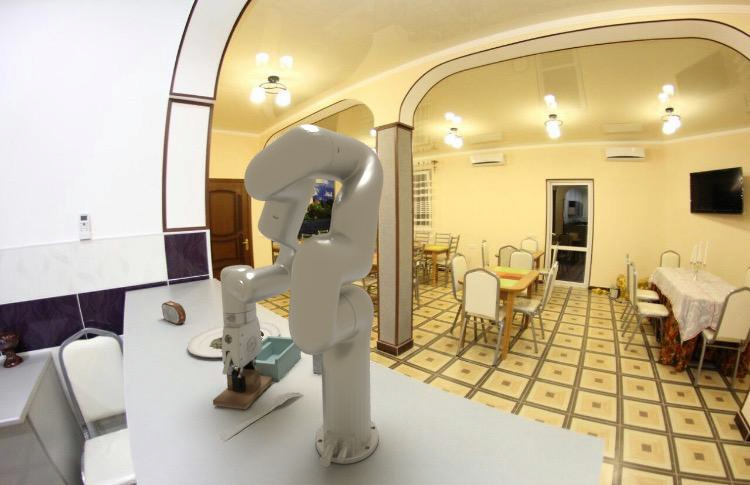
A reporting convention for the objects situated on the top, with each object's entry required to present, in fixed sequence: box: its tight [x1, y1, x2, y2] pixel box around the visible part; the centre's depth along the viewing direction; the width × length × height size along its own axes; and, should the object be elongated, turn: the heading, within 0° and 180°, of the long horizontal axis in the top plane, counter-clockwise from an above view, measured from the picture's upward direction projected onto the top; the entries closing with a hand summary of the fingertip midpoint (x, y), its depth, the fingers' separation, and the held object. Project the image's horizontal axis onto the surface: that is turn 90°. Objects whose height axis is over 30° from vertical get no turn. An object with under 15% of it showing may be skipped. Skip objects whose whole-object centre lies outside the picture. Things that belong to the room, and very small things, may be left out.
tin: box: [161, 300, 187, 325], centre depth 131 cm, size 15×3×8 cm, turn 58°
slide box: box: [255, 336, 302, 383], centre depth 92 cm, size 14×11×6 cm
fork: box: [218, 391, 304, 442], centre depth 72 cm, size 3×21×3 cm, turn 140°
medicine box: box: [311, 354, 322, 374], centre depth 92 cm, size 8×4×9 cm, turn 168°
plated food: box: [187, 321, 281, 358], centre depth 112 cm, size 30×30×3 cm
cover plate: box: [212, 367, 274, 410], centre depth 79 cm, size 12×9×5 cm
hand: (244, 385), depth 79 cm, fingers closed on cover plate, 3 cm apart
